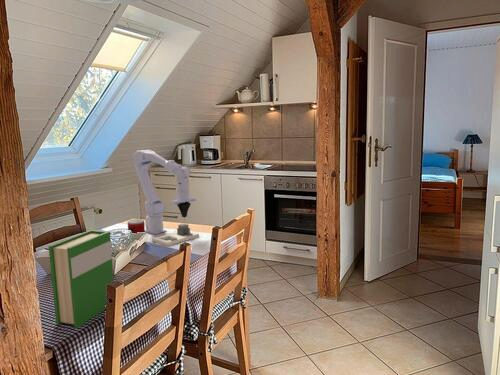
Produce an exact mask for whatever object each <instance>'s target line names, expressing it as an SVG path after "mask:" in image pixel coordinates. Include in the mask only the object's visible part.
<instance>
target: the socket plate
mask: <svg viewBox="0 0 500 375" xmlns="http://www.w3.org/2000/svg"><path fill="white" fill-rule="evenodd" d="M199 237H200V233H199V232H194V231H191V230H190V234H186V235H185V236H181V235H177V231H173V232H170V233H167V234H163V235H160V236H156V237H153V238H151V239H152V240H151V241H152V242H153V243H157V244H159V245H163V246H167V247H169V246H172V245H176V244H179V243H183V242H186V241H189V239H190V240H193V239H196V238H199ZM185 240H186V241H185Z"/></svg>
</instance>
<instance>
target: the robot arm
mask: <svg viewBox="0 0 500 375" xmlns="http://www.w3.org/2000/svg"><path fill="white" fill-rule="evenodd" d="M132 160H133V163H134V169H135V172H136V175H137V177H138V180H139V183H140V185H141V188H142V191H143V194H144V196H145V202H144V208H145V209H144V211H145V214H146V216H145V219H144V225H145V233H149V234H153V235H157V234H158V235H159V234H161V233H163V232H164V233H165V232H168V230H167V229H164V220H163V218H164V217H163V215H164V212H165V210H166V205H165V203H164V202H163V201H162V198H160V197H159V196H157V194H156V190H155V189H154V188H155V187H154V186H153V185H154V184H153V182H152V180H151V177H150V175H149V172H148V170H147V168H148V166H149V165H150V164H151V163H152V162H153V163H156V164H158V165H160V166H163V167H164V170H165V171H167V172H169V173H170V174H172V175H174V177H175V178H176V183H177V184H176V185H177V186H176V187H177V199H174V200H171V201H170V205H171V206H177V207H178V209H179V212H180V214H181V217H182V218H187V216H188V211H189V208H190V207H191V205H192V204H191V202H196V201H197V198H196V197H195V196H191V197H190V181H189V179H190V178H189V177H190V176H191V174H192V172H191V169H190V168H189V167H188V166H187V165H186V166H183V165H182V164H180V163H179V164H178V163H177V162H176V161H175V160H174V159H169V160H167V159H166V158H164V157H162V156H161V155H159V154H157V153H156V152H155V151H153V150H152V149H145V150H137V151H135V152H134V153H133V156H132Z"/></svg>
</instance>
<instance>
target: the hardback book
mask: <svg viewBox="0 0 500 375" xmlns="http://www.w3.org/2000/svg"><path fill="white" fill-rule="evenodd" d="M48 254H49V264H50V274H51V283H52V284H51V285H52V296H53V303H54V304H53V305H54V316H55V323H56V326H59V325H62V324H63V323H64V324H71V325H73V328H74V329H78V328H80V327H81V326H83V325H85V323H86V321H87V322H89V321H90V320H91V319H93V318H94V317H96V316H97V315H99V314H100V313H101V312H103V311H104V310H106V309H105V305H106V287H107V285H108V284H110V283H113V282H114V270H113V269H114V268H113V258H112V257H113V256H112V243H111V231H105V230H98V229H97V230H95V229H90V230H87V231H84V232H82V233H80V234H76V235H74V236H71V237H69V238H66V239H64V240H61V241H58V242H56V243H53V244H50V245H48ZM95 315H96V316H95ZM93 316H94V317H93ZM92 317H93V318H92ZM89 319H90V320H89Z"/></svg>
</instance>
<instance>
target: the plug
mask: <svg viewBox="0 0 500 375" xmlns="http://www.w3.org/2000/svg"><path fill="white" fill-rule="evenodd" d="M177 227H178V228H176V229H177V230H176V232H177V235H181V236H185V235H186V234H190V231H191V228H190V227H189V224H187V223H181V224H178V225H177Z"/></svg>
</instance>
